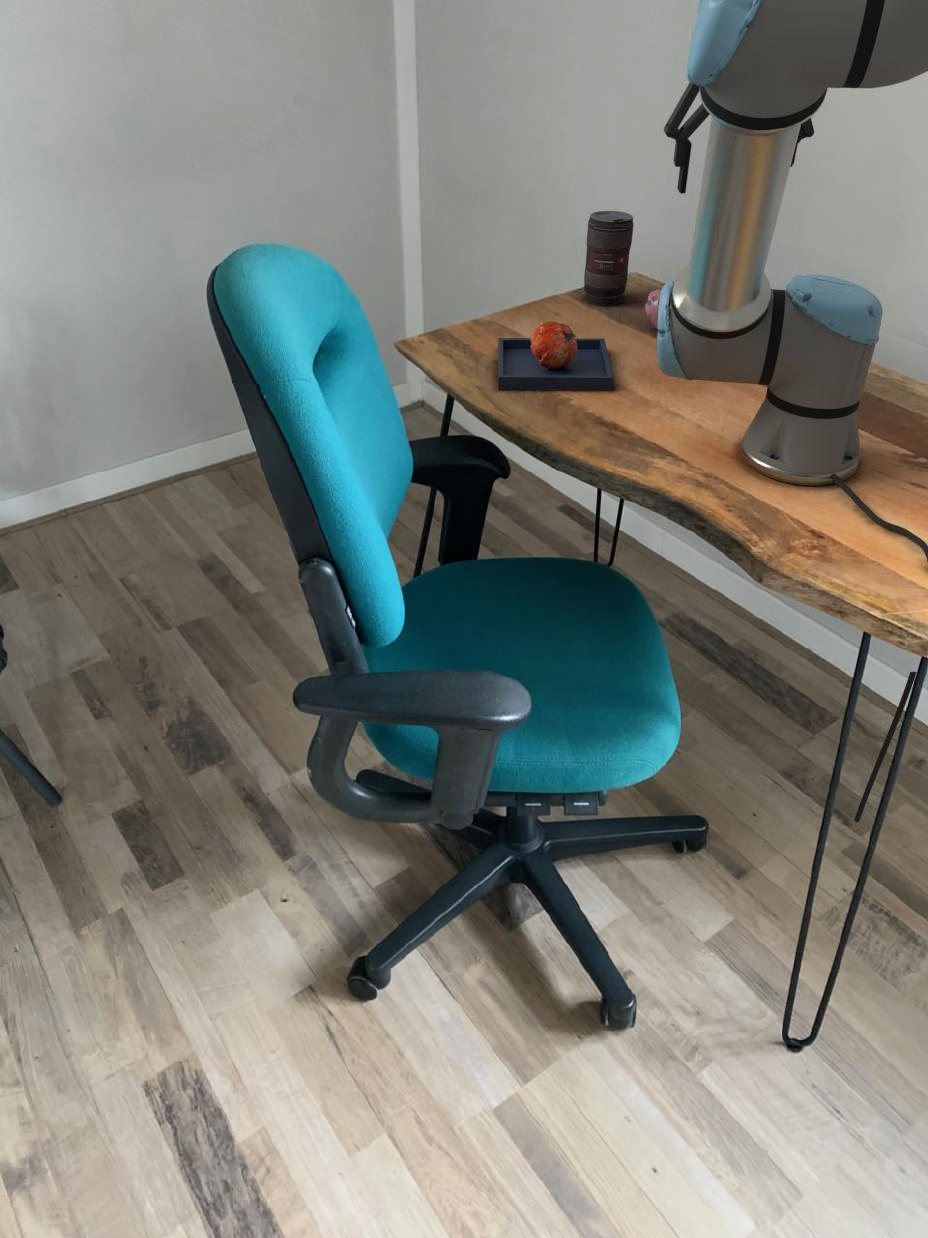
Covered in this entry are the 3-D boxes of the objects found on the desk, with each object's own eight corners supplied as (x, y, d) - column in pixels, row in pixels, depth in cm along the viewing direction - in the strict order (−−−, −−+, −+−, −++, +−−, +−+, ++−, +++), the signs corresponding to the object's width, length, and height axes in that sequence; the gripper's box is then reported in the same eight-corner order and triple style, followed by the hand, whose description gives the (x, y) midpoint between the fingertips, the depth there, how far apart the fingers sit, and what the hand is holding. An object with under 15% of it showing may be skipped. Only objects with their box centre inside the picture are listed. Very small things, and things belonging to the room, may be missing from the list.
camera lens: (634, 301, 177) (643, 217, 167) (600, 310, 173) (607, 224, 164) (607, 288, 182) (614, 206, 173) (573, 296, 179) (579, 213, 169)
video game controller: (660, 323, 172) (647, 287, 169) (684, 314, 170) (671, 277, 167) (652, 343, 165) (637, 306, 162) (677, 335, 162) (663, 296, 159)
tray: (612, 390, 146) (613, 377, 145) (498, 389, 147) (498, 376, 146) (603, 350, 159) (604, 338, 157) (498, 349, 159) (498, 337, 158)
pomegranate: (522, 380, 153) (555, 360, 144) (511, 335, 153) (544, 313, 144) (559, 375, 157) (594, 355, 148) (549, 331, 156) (583, 309, 148)
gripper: (844, 13, 126) (809, 184, 139) (655, 13, 127) (638, 184, 140) (861, 19, 120) (823, 197, 133) (663, 20, 121) (644, 197, 134)
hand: (728, 191), depth 136 cm, fingers open, 13 cm apart
